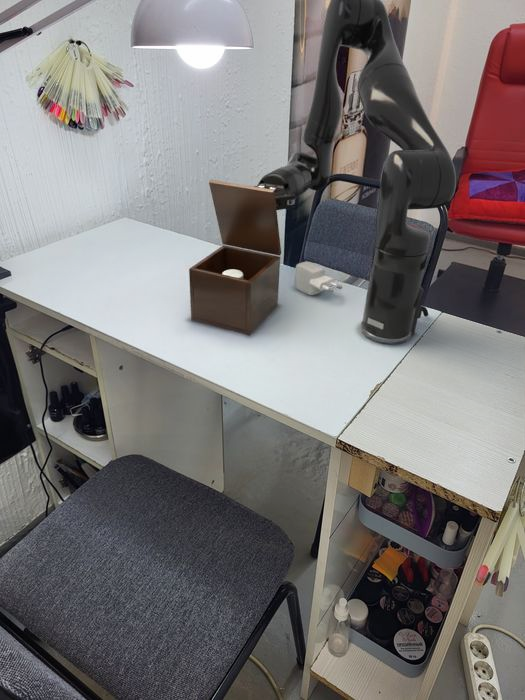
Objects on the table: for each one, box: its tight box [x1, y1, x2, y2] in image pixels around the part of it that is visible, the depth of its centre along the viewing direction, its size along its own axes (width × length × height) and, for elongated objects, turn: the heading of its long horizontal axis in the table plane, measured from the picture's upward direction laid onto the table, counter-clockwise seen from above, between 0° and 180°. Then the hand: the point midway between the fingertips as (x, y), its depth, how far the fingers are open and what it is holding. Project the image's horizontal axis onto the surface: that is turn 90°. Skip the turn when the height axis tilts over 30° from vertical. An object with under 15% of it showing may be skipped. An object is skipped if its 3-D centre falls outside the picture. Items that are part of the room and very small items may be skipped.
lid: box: [208, 179, 282, 257], centre depth 98 cm, size 14×13×1 cm
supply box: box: [188, 244, 281, 336], centre depth 102 cm, size 14×13×11 cm
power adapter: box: [294, 260, 343, 296], centre depth 111 cm, size 11×5×6 cm, turn 40°
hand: (247, 208), depth 97 cm, fingers closed
